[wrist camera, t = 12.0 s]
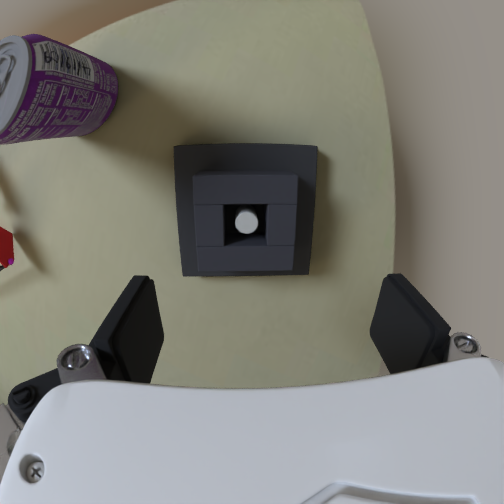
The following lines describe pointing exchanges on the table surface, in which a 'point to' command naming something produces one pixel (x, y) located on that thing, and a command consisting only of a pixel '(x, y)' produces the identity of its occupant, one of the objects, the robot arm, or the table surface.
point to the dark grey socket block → (240, 244)
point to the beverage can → (51, 90)
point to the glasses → (6, 248)
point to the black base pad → (245, 215)
